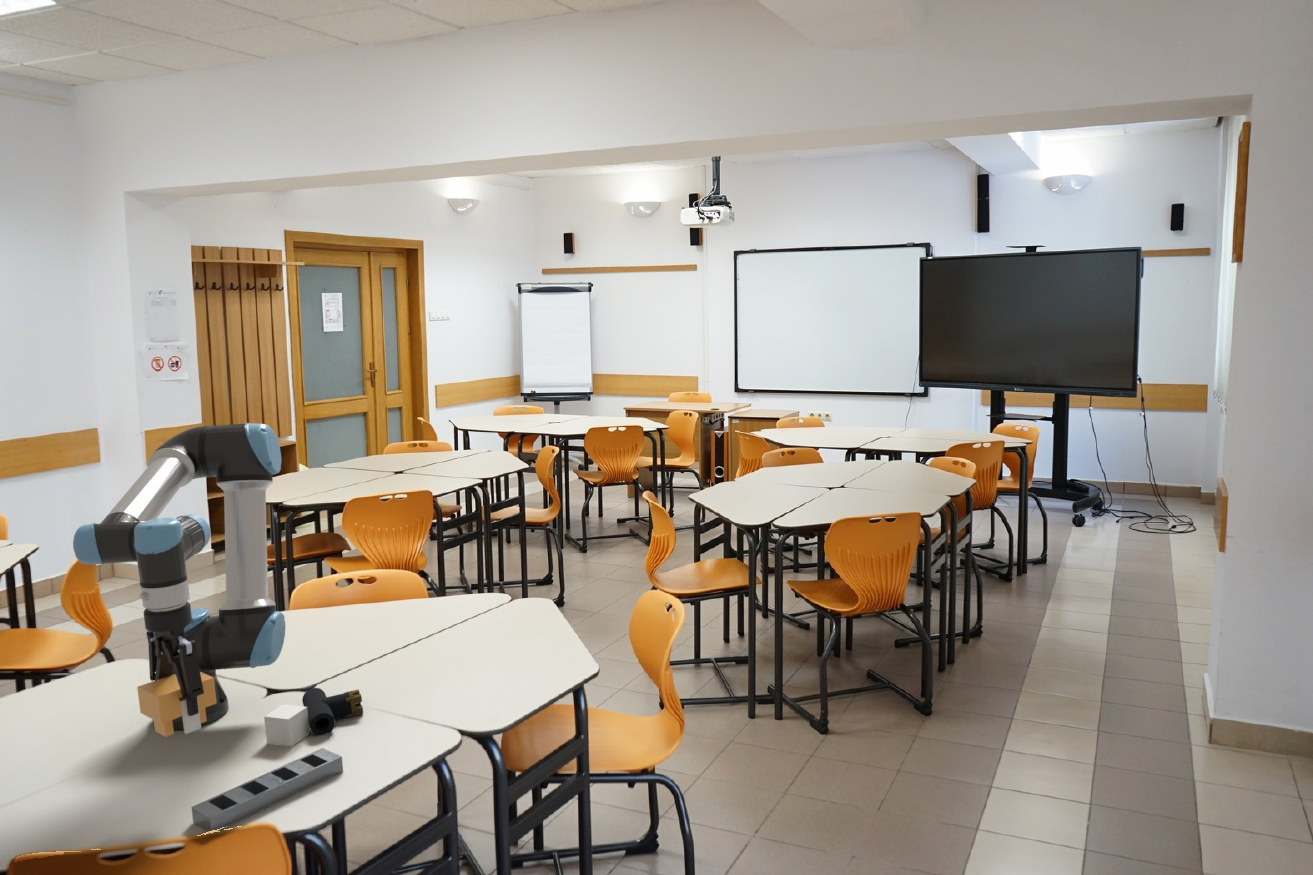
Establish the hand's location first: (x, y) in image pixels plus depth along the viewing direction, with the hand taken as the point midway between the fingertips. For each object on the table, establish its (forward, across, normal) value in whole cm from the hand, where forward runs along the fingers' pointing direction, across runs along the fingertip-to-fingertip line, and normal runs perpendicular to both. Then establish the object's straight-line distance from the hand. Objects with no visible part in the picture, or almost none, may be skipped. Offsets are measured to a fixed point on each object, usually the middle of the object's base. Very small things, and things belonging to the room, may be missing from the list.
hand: (181, 724), depth 173 cm
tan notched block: (0, 0, 0) cm, 0 cm away
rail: (+14, +13, +9) cm, 21 cm away
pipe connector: (+15, -7, +35) cm, 39 cm away
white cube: (+15, -6, +24) cm, 29 cm away
